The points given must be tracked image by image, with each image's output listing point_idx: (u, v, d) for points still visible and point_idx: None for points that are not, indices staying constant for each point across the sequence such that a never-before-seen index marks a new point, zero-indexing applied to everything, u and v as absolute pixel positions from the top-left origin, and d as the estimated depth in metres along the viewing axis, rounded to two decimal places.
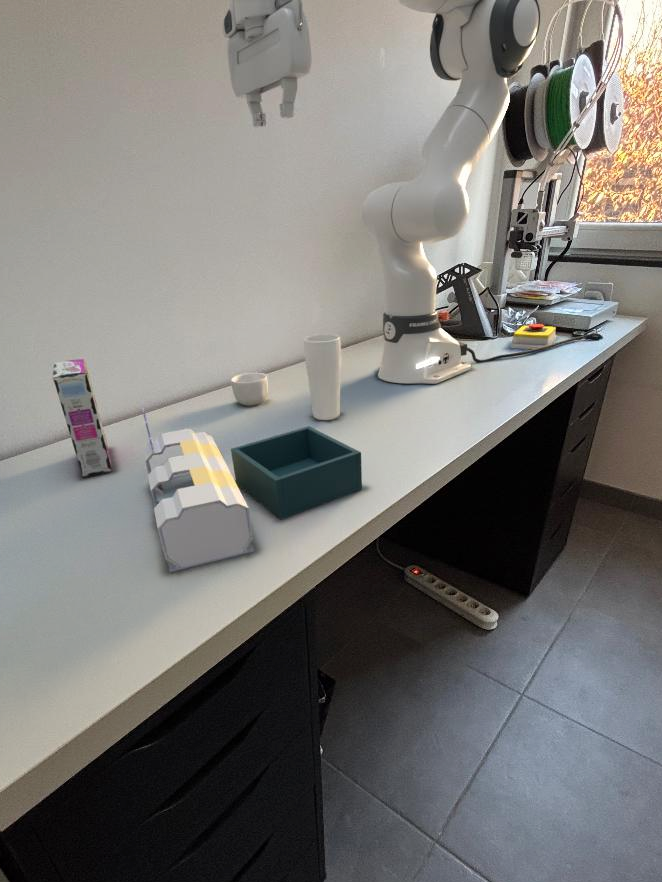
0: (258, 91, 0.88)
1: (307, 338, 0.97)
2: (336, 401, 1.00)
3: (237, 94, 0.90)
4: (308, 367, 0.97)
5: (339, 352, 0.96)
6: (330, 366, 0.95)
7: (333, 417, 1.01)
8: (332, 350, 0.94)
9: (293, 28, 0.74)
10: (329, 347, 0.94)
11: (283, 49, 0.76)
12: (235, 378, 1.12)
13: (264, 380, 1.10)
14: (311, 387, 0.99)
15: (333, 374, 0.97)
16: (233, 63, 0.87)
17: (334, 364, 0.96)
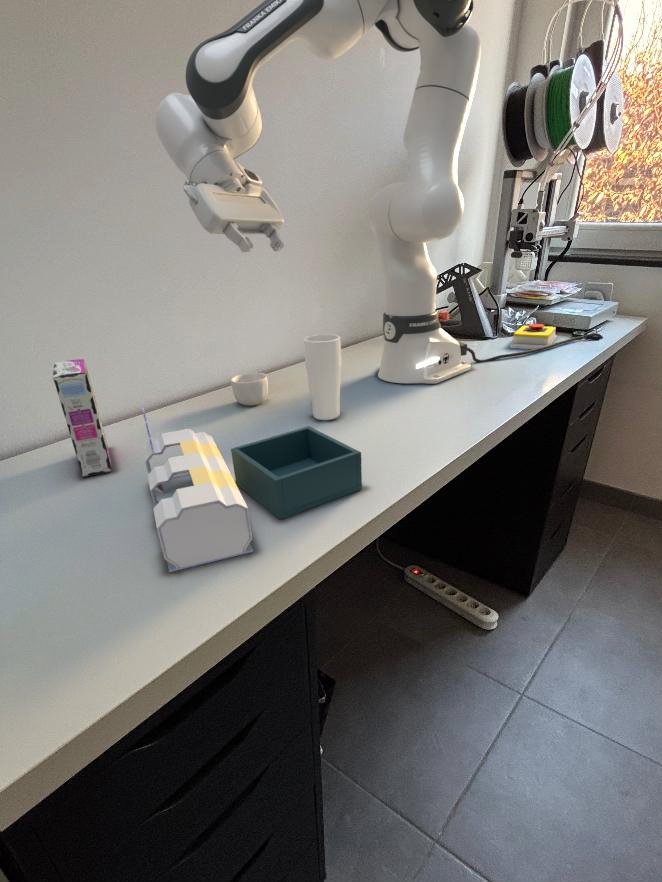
0: (267, 225, 0.99)
1: (307, 338, 0.97)
2: (336, 401, 1.00)
3: None
4: (308, 367, 0.97)
5: (339, 352, 0.96)
6: (330, 366, 0.95)
7: (333, 417, 1.01)
8: (332, 350, 0.94)
9: (194, 207, 0.88)
10: (329, 347, 0.94)
11: None
12: (235, 378, 1.12)
13: (264, 380, 1.10)
14: (311, 387, 0.99)
15: (333, 374, 0.97)
16: None
17: (334, 364, 0.96)
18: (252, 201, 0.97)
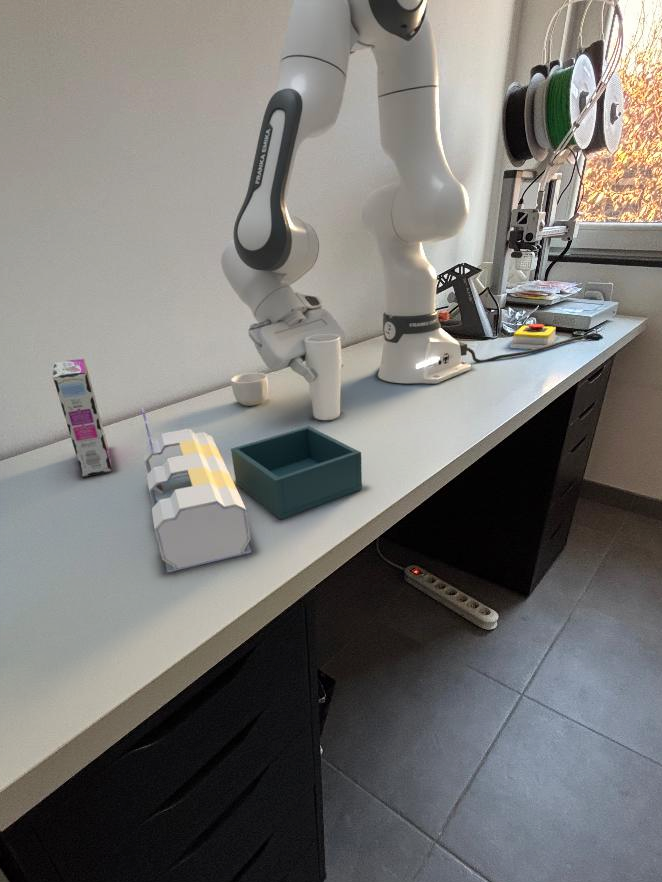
0: None
1: (307, 338, 0.97)
2: (336, 401, 1.00)
3: None
4: (308, 367, 0.97)
5: (339, 352, 0.96)
6: (330, 366, 0.95)
7: (333, 417, 1.01)
8: (332, 350, 0.94)
9: (259, 349, 0.94)
10: (329, 347, 0.94)
11: None
12: (235, 378, 1.12)
13: (264, 380, 1.10)
14: (311, 387, 0.99)
15: (333, 374, 0.97)
16: None
17: (334, 364, 0.96)
18: (314, 327, 1.00)
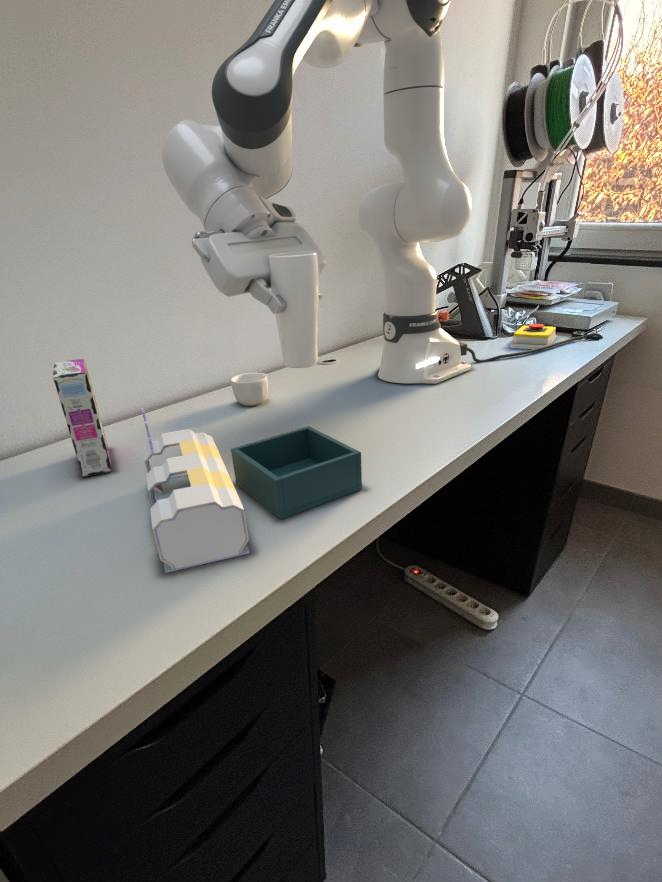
0: None
1: (273, 256, 0.73)
2: (312, 342, 0.76)
3: None
4: None
5: (315, 273, 0.72)
6: (303, 291, 0.71)
7: (309, 364, 0.77)
8: (306, 269, 0.70)
9: (206, 265, 0.69)
10: (301, 264, 0.70)
11: None
12: (235, 378, 1.12)
13: (264, 380, 1.10)
14: (279, 322, 0.75)
15: (307, 303, 0.72)
16: None
17: (309, 289, 0.72)
18: (284, 244, 0.76)
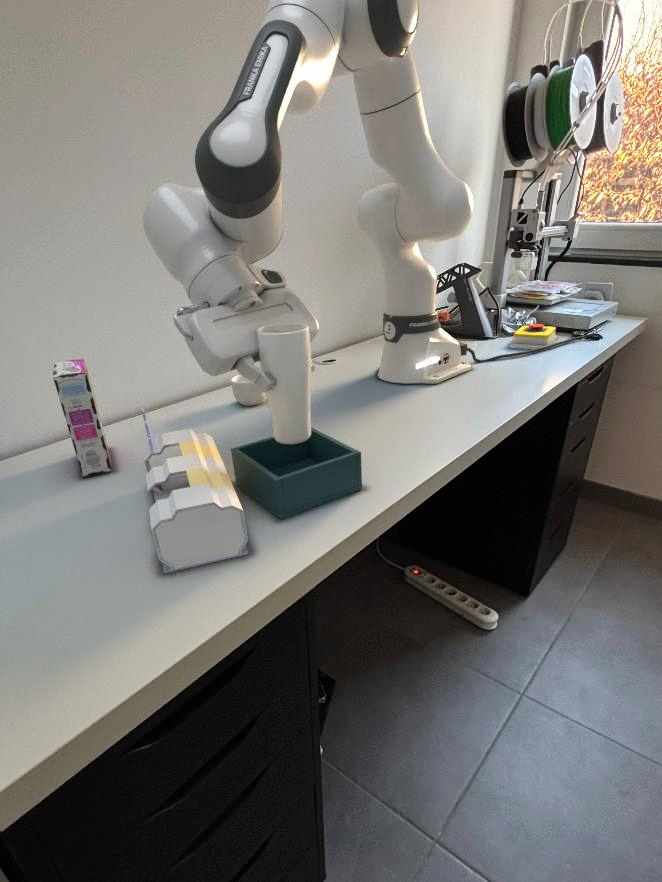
0: None
1: (262, 329, 0.68)
2: (305, 418, 0.71)
3: None
4: (263, 370, 0.68)
5: (307, 349, 0.67)
6: (294, 369, 0.66)
7: (301, 440, 0.72)
8: (297, 346, 0.65)
9: (189, 344, 0.65)
10: (292, 341, 0.65)
11: None
12: (235, 378, 1.12)
13: None
14: (269, 398, 0.70)
15: (299, 380, 0.68)
16: None
17: (300, 366, 0.67)
18: (273, 313, 0.71)
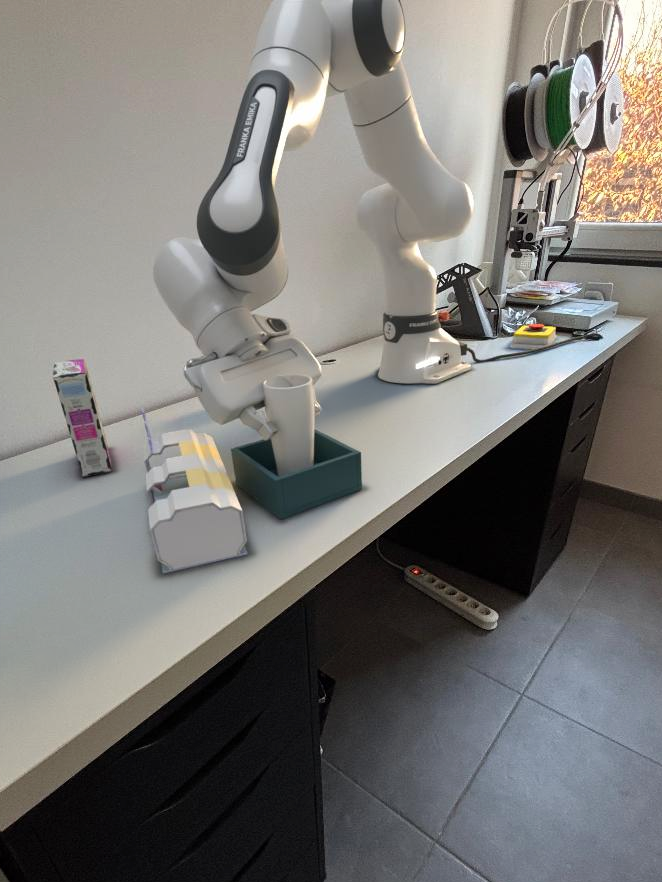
0: None
1: None
2: (308, 464, 0.74)
3: None
4: (269, 420, 0.71)
5: (311, 401, 0.70)
6: (298, 420, 0.70)
7: None
8: (301, 399, 0.69)
9: (198, 394, 0.68)
10: (296, 395, 0.68)
11: None
12: None
13: None
14: (274, 446, 0.73)
15: (303, 430, 0.71)
16: None
17: (304, 417, 0.70)
18: (278, 360, 0.75)
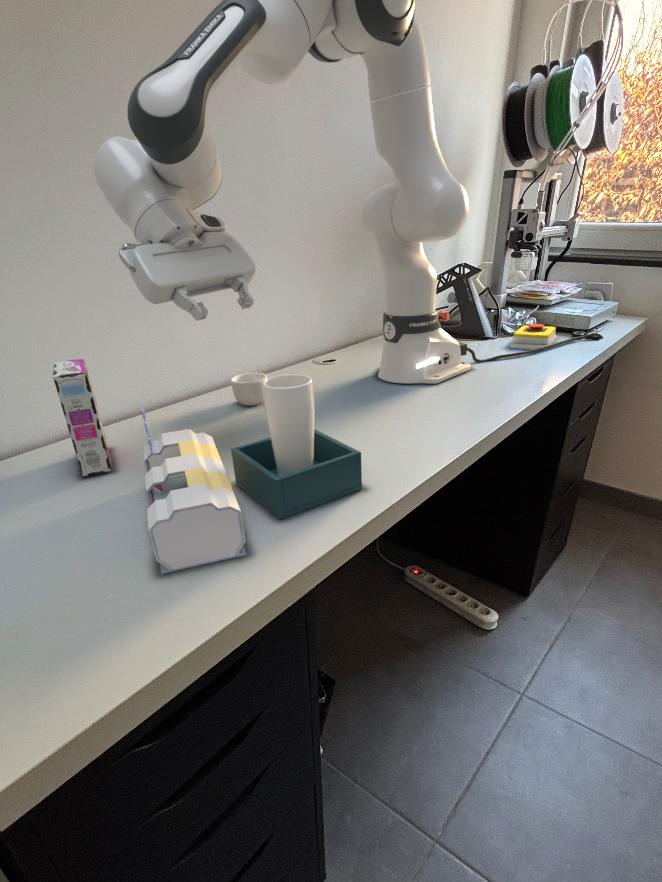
0: (233, 278, 0.82)
1: (268, 380, 0.72)
2: (308, 464, 0.74)
3: None
4: (269, 420, 0.71)
5: (311, 400, 0.70)
6: (298, 420, 0.70)
7: None
8: (301, 399, 0.69)
9: (133, 275, 0.74)
10: (296, 395, 0.68)
11: None
12: (235, 378, 1.12)
13: (264, 380, 1.10)
14: (274, 446, 0.73)
15: (303, 430, 0.71)
16: None
17: (304, 417, 0.70)
18: (212, 253, 0.81)
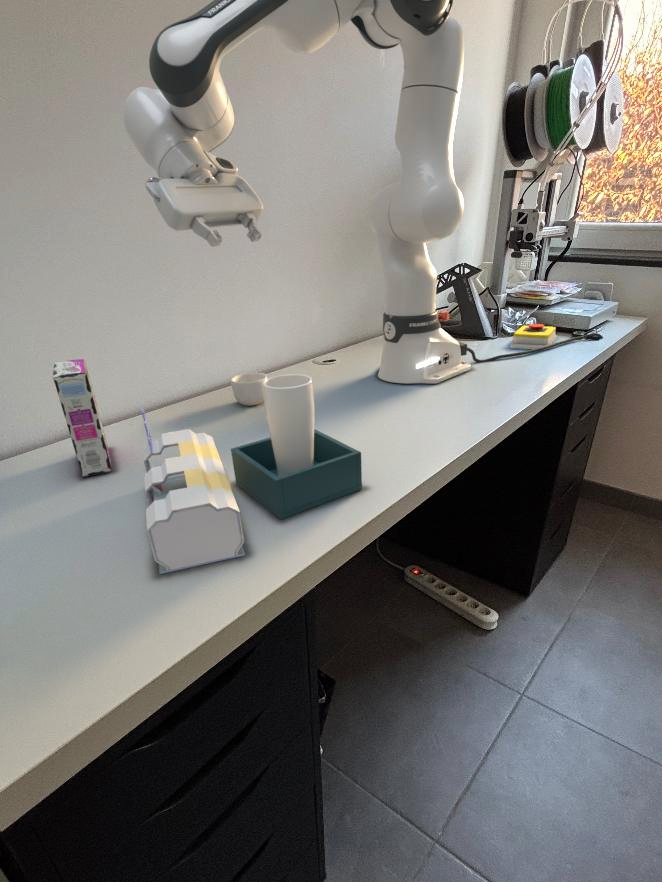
0: (244, 214, 0.93)
1: (268, 380, 0.72)
2: (308, 464, 0.74)
3: None
4: (269, 420, 0.71)
5: (311, 400, 0.70)
6: (298, 420, 0.70)
7: None
8: (301, 399, 0.69)
9: (158, 204, 0.85)
10: (296, 395, 0.68)
11: None
12: (235, 378, 1.12)
13: (264, 380, 1.10)
14: (274, 446, 0.73)
15: (303, 430, 0.71)
16: None
17: (304, 417, 0.70)
18: (225, 191, 0.92)
